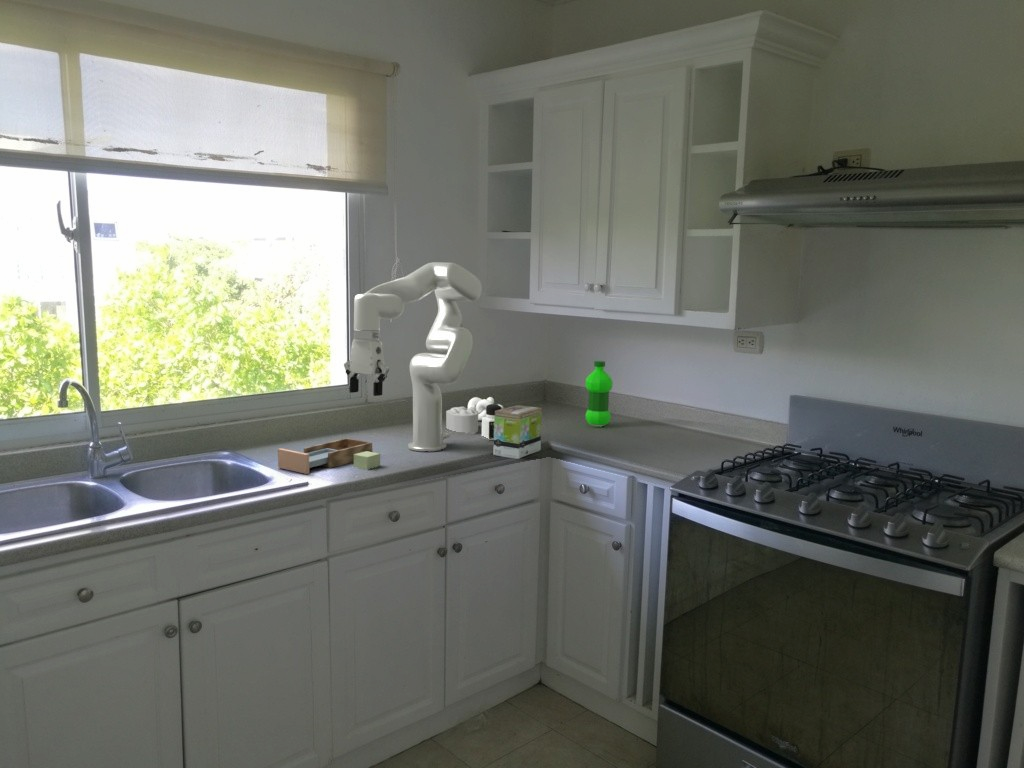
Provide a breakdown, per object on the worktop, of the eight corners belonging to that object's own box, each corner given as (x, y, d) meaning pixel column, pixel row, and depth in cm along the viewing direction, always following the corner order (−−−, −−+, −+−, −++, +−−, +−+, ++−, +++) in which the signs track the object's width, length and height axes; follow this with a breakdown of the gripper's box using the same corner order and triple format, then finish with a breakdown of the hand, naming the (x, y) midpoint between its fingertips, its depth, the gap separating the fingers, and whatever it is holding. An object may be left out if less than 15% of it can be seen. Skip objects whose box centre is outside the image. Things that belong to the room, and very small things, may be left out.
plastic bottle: (599, 422, 311) (601, 359, 307) (616, 427, 302) (618, 362, 299) (578, 424, 306) (580, 360, 302) (595, 429, 297) (597, 363, 293)
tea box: (519, 459, 249) (520, 413, 247) (492, 455, 254) (492, 410, 252) (541, 450, 262) (542, 406, 260) (515, 447, 267) (515, 403, 265)
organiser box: (346, 451, 256) (346, 438, 255) (372, 456, 250) (372, 442, 249) (304, 462, 241) (303, 448, 241) (329, 468, 235) (329, 453, 235)
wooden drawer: (324, 456, 248) (323, 438, 248) (351, 461, 242) (351, 443, 241) (278, 467, 234) (277, 449, 233) (306, 473, 227) (305, 454, 226)
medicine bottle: (488, 441, 275) (489, 407, 273) (481, 436, 282) (481, 403, 280) (507, 439, 278) (508, 405, 276) (499, 435, 284) (500, 402, 283)
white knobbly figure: (472, 424, 305) (472, 401, 303) (463, 418, 316) (463, 396, 314) (500, 422, 309) (500, 399, 307) (489, 416, 320) (490, 395, 318)
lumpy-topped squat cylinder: (467, 426, 299) (467, 404, 298) (484, 433, 288) (484, 409, 287) (442, 429, 294) (442, 406, 293) (459, 436, 283) (459, 412, 282)
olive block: (366, 463, 242) (366, 451, 241) (380, 466, 239) (379, 453, 238) (353, 467, 237) (353, 454, 236) (367, 470, 234) (367, 457, 233)
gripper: (397, 337, 231) (396, 395, 233) (354, 334, 241) (353, 390, 243) (379, 338, 225) (378, 397, 227) (336, 334, 235) (335, 392, 236)
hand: (365, 393), depth 235 cm, fingers open, 9 cm apart
